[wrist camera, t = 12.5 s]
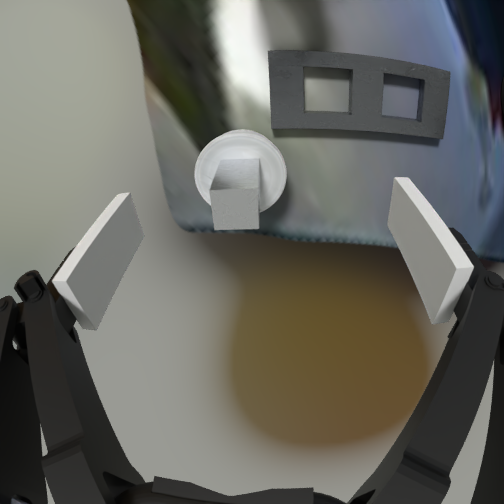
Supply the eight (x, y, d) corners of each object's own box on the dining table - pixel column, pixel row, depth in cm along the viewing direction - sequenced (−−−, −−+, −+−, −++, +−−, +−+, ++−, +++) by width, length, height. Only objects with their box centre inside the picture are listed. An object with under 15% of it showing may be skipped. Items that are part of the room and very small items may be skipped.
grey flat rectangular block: (444, 70, 29) (450, 71, 27) (437, 136, 35) (442, 139, 34) (267, 50, 30) (267, 50, 29) (271, 125, 36) (271, 128, 35)
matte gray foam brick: (259, 158, 34) (257, 188, 28) (260, 192, 37) (259, 228, 31) (220, 159, 34) (209, 190, 28) (224, 193, 37) (214, 229, 31)
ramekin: (203, 196, 43) (195, 214, 39) (201, 121, 36) (192, 132, 32) (280, 200, 43) (282, 219, 39) (288, 125, 36) (291, 136, 32)
